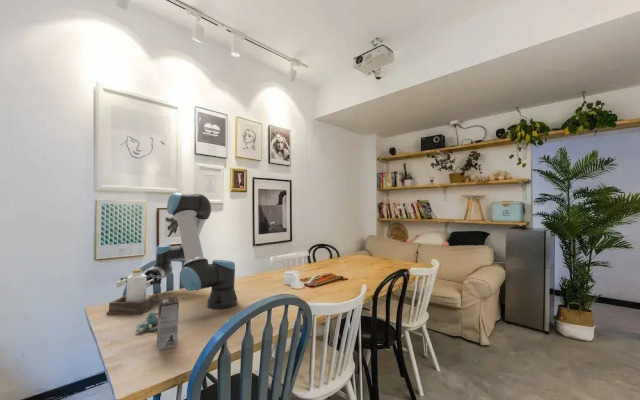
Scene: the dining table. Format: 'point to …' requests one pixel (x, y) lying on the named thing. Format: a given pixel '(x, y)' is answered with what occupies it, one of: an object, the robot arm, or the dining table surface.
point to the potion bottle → (136, 286)
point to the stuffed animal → (149, 323)
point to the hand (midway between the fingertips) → (131, 284)
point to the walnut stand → (132, 305)
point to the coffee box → (167, 322)
